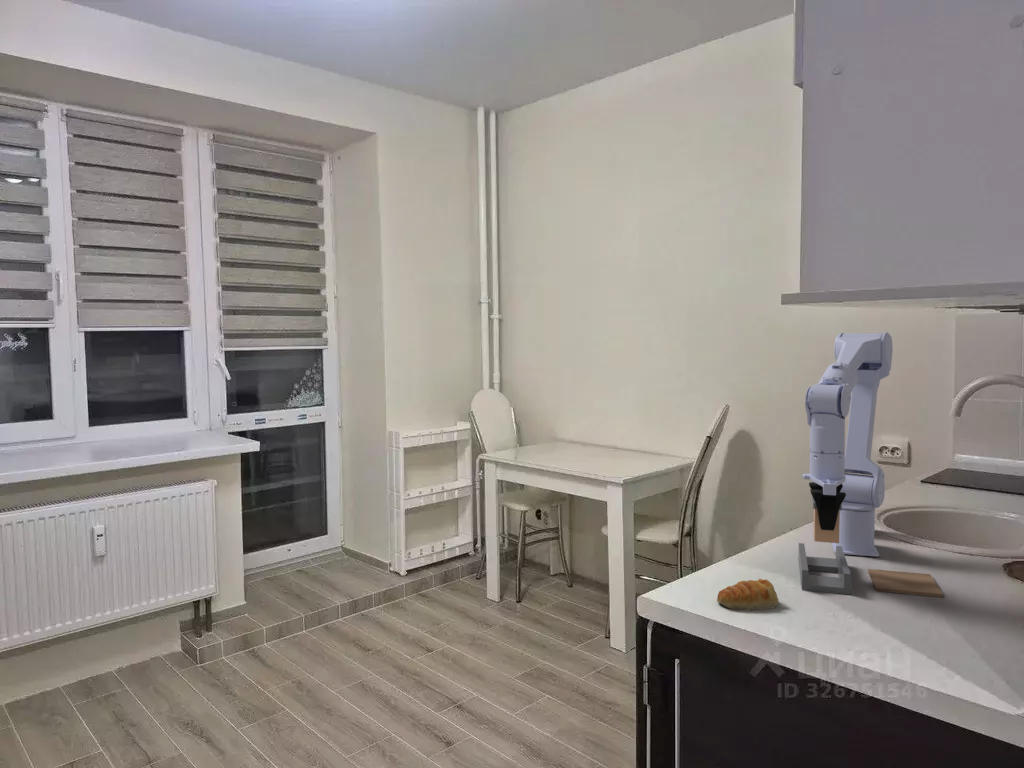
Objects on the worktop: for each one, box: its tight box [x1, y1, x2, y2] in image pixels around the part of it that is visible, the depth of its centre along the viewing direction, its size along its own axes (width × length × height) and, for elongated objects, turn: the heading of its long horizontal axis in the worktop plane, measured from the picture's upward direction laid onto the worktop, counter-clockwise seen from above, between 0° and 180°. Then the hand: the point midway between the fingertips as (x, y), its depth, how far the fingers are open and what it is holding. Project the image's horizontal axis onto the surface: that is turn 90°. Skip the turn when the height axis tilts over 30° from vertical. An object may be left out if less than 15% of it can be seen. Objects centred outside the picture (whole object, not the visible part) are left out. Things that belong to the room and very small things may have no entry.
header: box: [797, 542, 852, 595], centre depth 128 cm, size 16×8×4 cm, turn 160°
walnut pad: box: [867, 568, 944, 598], centre depth 124 cm, size 10×10×1 cm
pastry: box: [716, 578, 779, 611], centre depth 117 cm, size 9×7×4 cm
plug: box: [811, 497, 842, 544], centre depth 127 cm, size 5×5×7 cm
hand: (826, 525), depth 127 cm, fingers closed on plug, 4 cm apart
